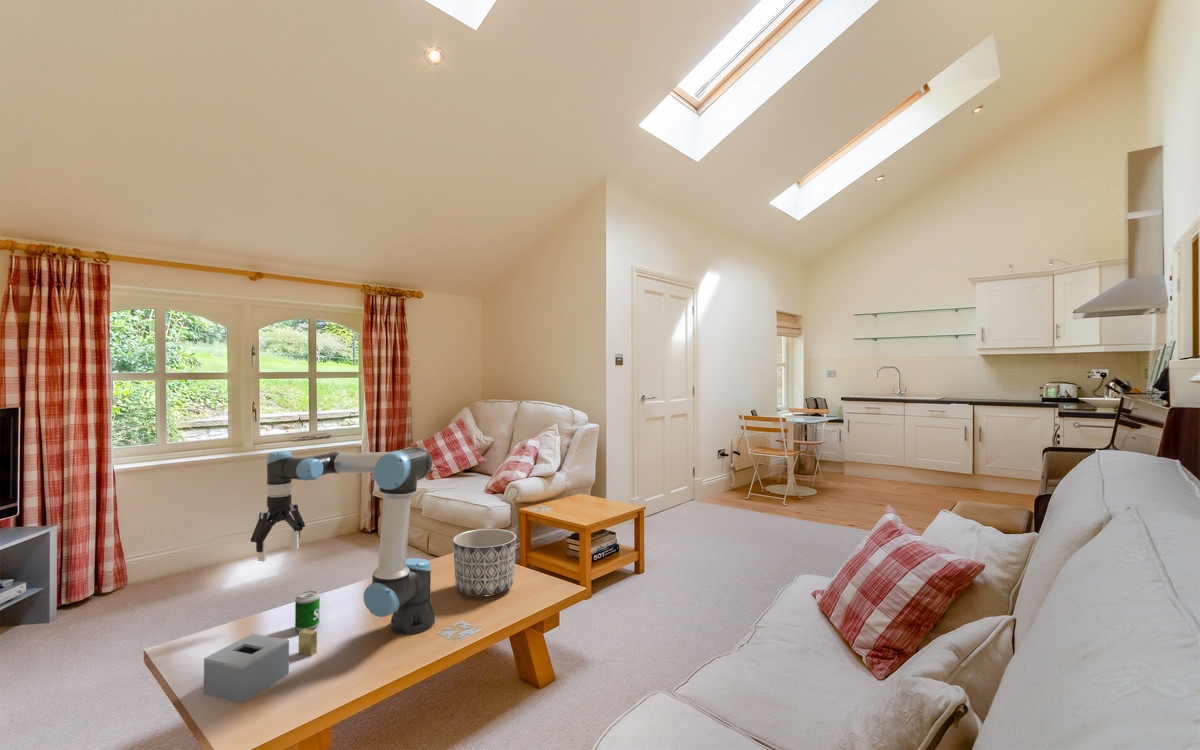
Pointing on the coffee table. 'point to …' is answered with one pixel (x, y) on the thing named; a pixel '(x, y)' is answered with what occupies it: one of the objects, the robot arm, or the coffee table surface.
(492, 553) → the planter
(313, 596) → the soda can
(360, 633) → the coffee table surface
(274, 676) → the box
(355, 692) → the coffee table surface
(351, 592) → the coffee table surface
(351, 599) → the coffee table surface
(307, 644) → the block
